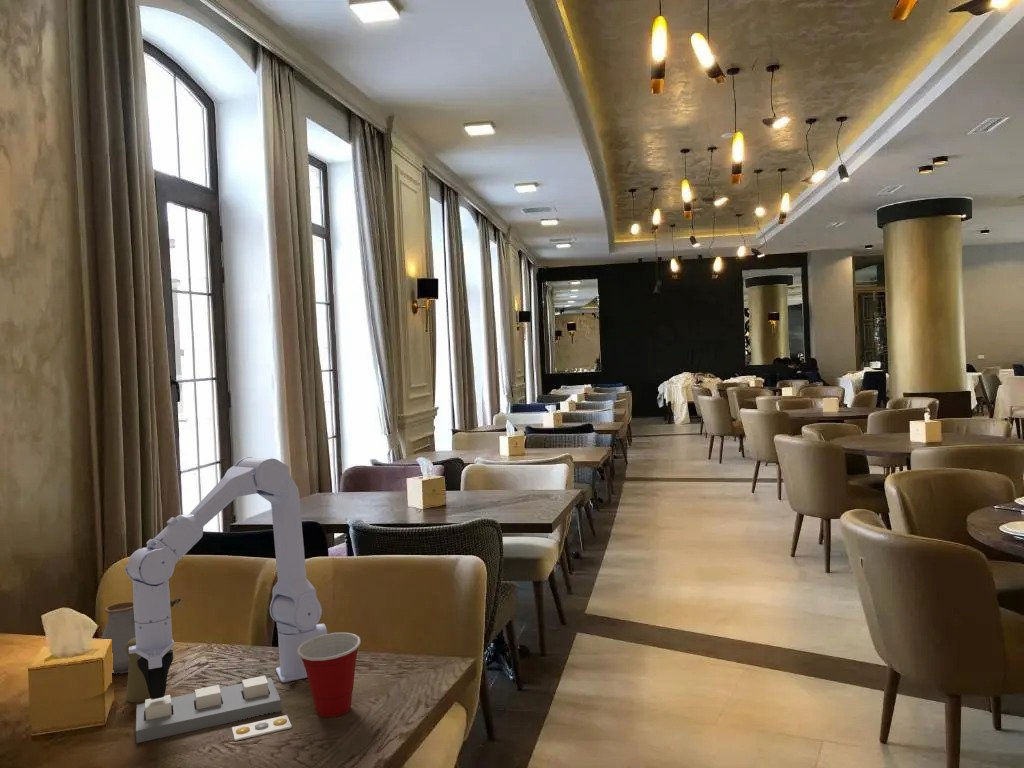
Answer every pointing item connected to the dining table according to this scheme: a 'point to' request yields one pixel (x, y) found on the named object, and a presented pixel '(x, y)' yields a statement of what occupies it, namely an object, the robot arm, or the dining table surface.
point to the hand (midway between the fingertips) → (157, 697)
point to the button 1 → (158, 707)
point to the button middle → (208, 697)
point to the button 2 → (255, 687)
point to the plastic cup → (331, 671)
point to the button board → (205, 712)
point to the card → (261, 727)
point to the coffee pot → (122, 632)
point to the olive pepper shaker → (135, 678)
